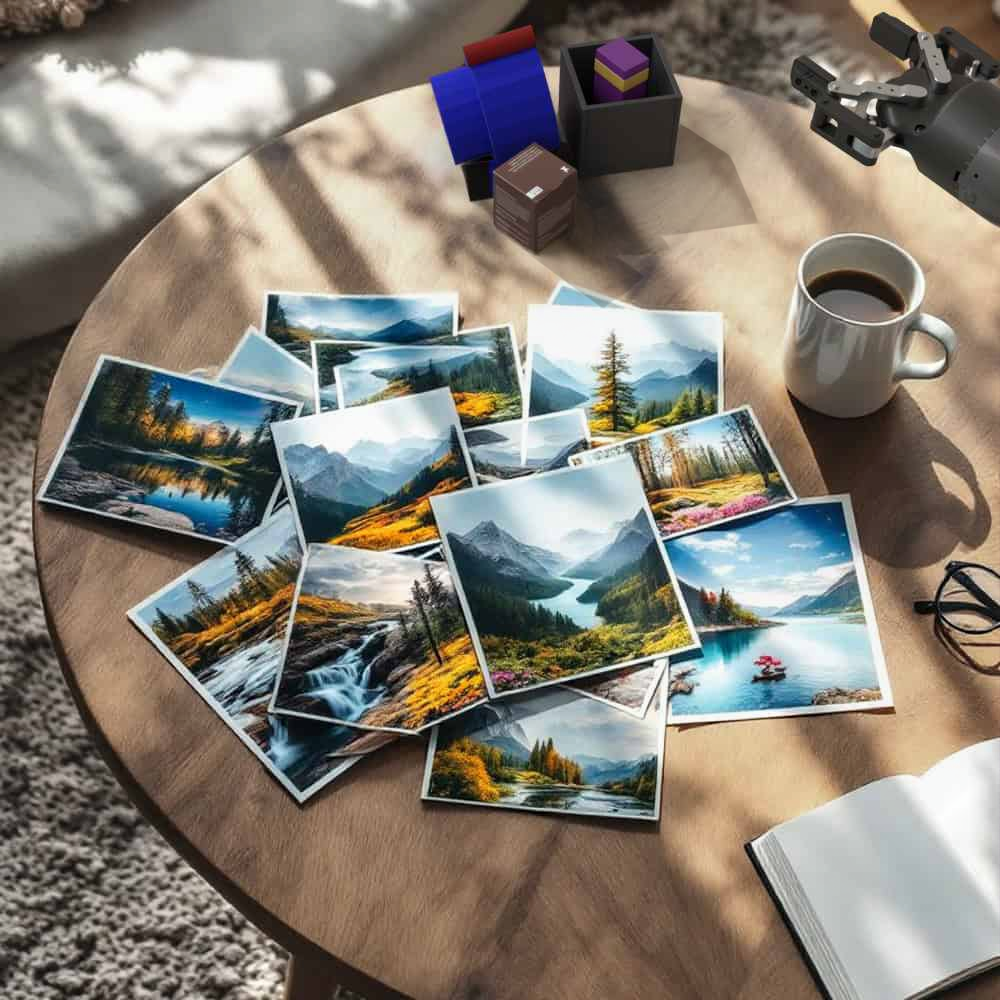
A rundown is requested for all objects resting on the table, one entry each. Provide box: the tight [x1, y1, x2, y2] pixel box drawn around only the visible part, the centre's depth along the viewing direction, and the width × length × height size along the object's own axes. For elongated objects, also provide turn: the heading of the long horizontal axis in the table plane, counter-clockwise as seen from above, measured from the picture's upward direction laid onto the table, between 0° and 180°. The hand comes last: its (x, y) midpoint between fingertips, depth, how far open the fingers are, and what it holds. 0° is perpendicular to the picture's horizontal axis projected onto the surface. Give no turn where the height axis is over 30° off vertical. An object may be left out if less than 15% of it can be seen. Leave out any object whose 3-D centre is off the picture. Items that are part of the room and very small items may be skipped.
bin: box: [557, 33, 684, 179], centre depth 129 cm, size 10×10×9 cm
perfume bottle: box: [593, 36, 649, 105], centre depth 128 cm, size 3×4×10 cm
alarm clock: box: [429, 24, 561, 202], centre depth 125 cm, size 12×12×15 cm
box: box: [492, 142, 578, 255], centre depth 123 cm, size 6×6×7 cm
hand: (835, 44), depth 95 cm, fingers open, 8 cm apart
